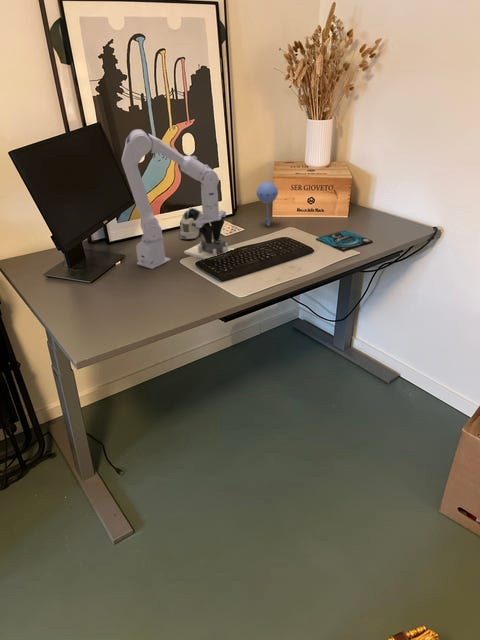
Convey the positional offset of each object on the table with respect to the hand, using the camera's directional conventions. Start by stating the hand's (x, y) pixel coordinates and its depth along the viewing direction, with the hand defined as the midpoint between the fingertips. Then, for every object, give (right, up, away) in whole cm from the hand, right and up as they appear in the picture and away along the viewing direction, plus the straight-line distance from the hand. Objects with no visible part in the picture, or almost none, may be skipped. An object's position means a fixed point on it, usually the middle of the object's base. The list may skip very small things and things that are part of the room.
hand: (212, 240), depth 176 cm
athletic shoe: (-8, +8, +24) cm, 27 cm away
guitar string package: (+50, +1, +9) cm, 50 cm away
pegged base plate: (-1, -4, +3) cm, 5 cm away
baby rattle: (+21, +11, +27) cm, 36 cm away
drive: (0, -4, +2) cm, 4 cm away
